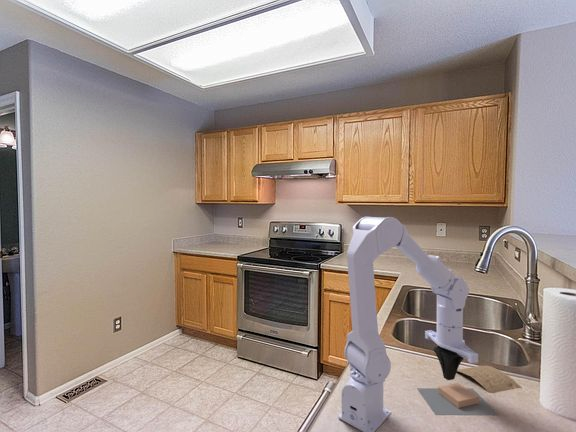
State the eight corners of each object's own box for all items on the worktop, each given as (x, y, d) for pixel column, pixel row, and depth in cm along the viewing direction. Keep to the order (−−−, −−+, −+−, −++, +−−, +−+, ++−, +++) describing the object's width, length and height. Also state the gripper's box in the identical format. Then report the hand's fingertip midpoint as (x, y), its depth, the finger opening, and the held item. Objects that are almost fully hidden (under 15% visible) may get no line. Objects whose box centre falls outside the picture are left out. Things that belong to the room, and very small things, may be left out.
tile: (438, 393, 75) (458, 408, 69) (438, 386, 75) (458, 401, 69) (457, 389, 77) (478, 403, 71) (457, 382, 77) (479, 396, 71)
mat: (435, 416, 67) (435, 414, 67) (416, 389, 77) (416, 388, 77) (499, 416, 67) (499, 414, 67) (472, 390, 77) (472, 388, 77)
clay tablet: (526, 393, 76) (526, 383, 76) (496, 402, 73) (496, 390, 73) (474, 366, 90) (474, 357, 90) (447, 372, 87) (447, 362, 87)
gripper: (488, 333, 70) (488, 392, 70) (440, 312, 83) (440, 362, 84) (464, 336, 68) (463, 397, 68) (418, 315, 81) (418, 365, 82)
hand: (449, 378), depth 76 cm, fingers closed
